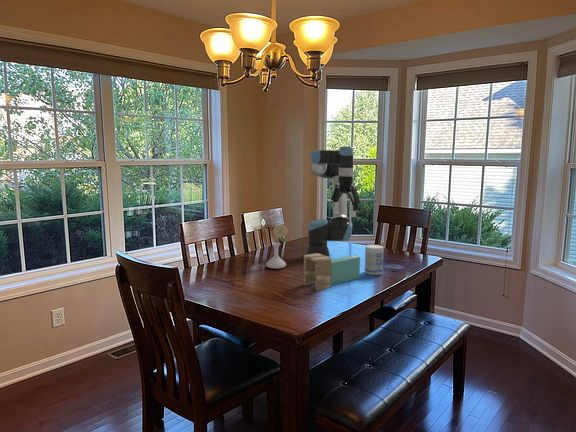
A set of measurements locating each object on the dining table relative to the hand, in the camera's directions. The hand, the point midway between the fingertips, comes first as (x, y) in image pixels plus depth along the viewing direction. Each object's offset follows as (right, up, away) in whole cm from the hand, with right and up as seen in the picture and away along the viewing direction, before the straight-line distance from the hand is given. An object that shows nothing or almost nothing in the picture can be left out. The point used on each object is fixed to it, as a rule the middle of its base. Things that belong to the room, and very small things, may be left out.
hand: (344, 215), depth 225 cm
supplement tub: (+16, -31, 0) cm, 35 cm away
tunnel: (-17, -35, -24) cm, 45 cm away
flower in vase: (-37, -30, +10) cm, 48 cm away
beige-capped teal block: (-3, -33, -14) cm, 36 cm away
